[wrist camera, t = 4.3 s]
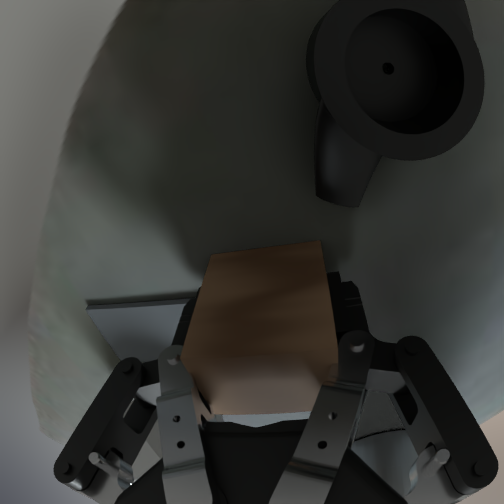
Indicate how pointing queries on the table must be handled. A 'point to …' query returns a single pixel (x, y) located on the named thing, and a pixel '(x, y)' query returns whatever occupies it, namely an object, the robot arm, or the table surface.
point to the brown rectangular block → (262, 330)
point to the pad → (138, 326)
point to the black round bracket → (389, 87)
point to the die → (152, 449)
